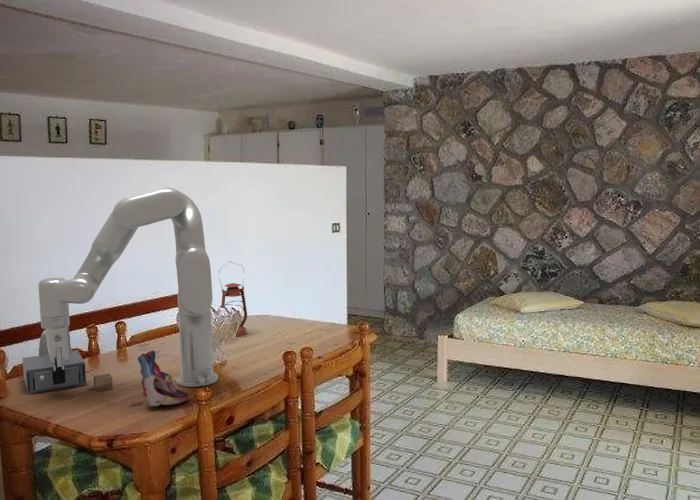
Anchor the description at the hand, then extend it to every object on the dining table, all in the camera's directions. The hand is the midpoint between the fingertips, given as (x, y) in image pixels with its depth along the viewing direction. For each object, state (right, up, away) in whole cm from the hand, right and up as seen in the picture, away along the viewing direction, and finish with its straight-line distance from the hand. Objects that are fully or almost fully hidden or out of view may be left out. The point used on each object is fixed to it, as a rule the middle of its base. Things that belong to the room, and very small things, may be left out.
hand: (59, 382), depth 186 cm
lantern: (+38, +4, +70) cm, 79 cm away
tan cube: (+10, -3, +6) cm, 12 cm away
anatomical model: (+33, -4, -9) cm, 35 cm away
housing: (-7, -2, +12) cm, 14 cm away
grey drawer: (-6, -1, +11) cm, 12 cm away
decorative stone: (-14, -1, +28) cm, 31 cm away
